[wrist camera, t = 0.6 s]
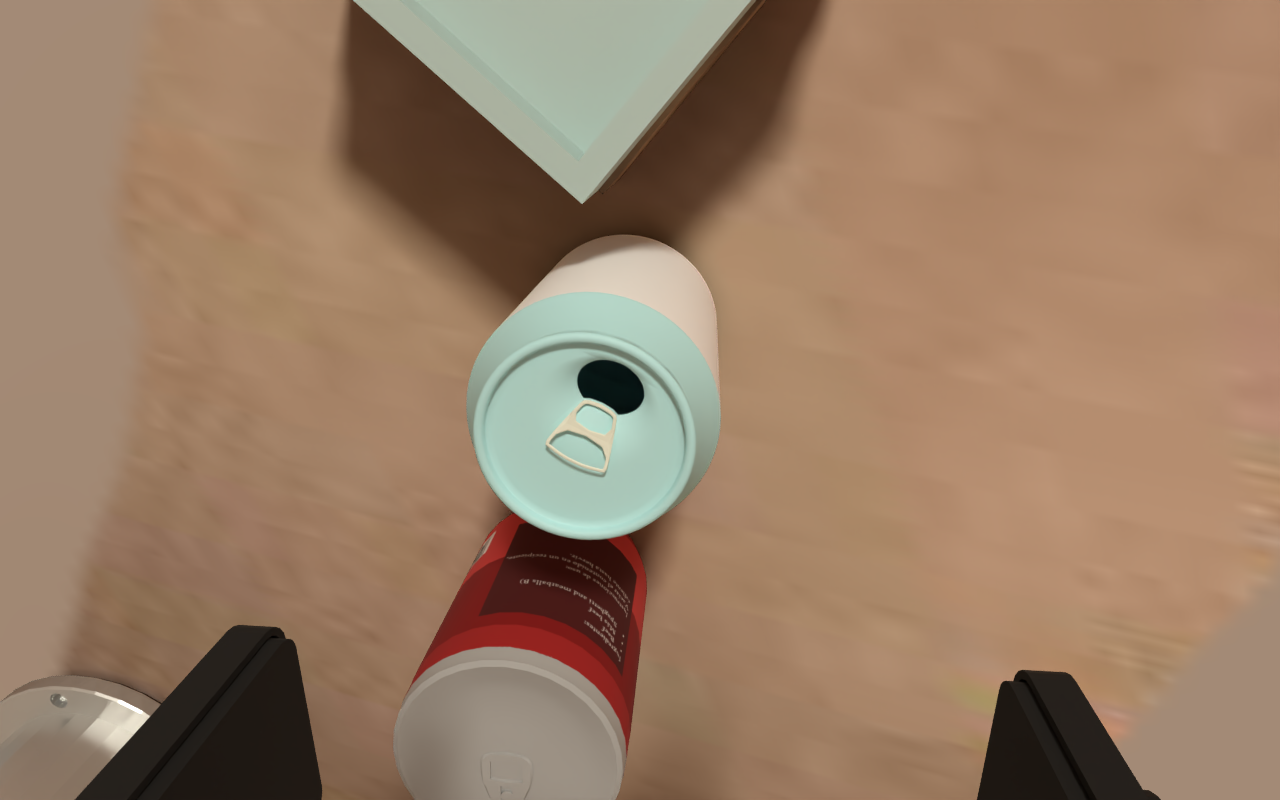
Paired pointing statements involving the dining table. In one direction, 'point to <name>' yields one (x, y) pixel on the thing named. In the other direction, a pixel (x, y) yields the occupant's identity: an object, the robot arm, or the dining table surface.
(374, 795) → the dining table surface
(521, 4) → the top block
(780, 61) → the dining table surface
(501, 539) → the canned food
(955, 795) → the dining table surface
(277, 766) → the robot arm
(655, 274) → the can
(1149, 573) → the dining table surface
